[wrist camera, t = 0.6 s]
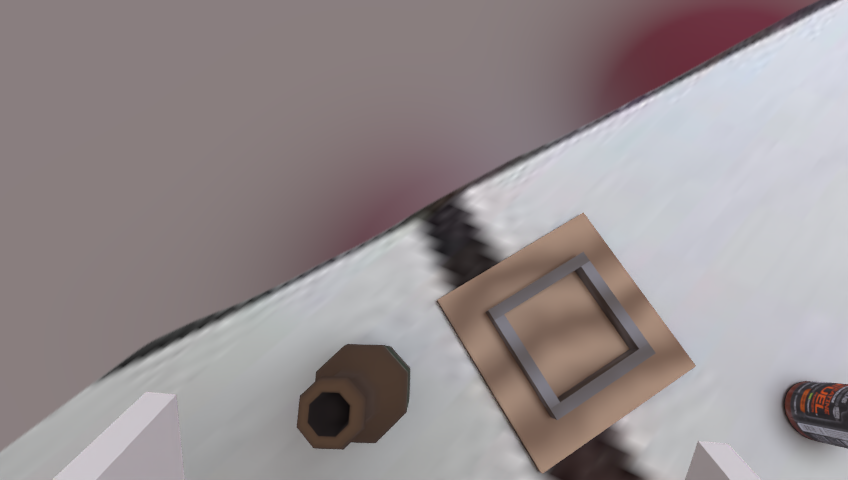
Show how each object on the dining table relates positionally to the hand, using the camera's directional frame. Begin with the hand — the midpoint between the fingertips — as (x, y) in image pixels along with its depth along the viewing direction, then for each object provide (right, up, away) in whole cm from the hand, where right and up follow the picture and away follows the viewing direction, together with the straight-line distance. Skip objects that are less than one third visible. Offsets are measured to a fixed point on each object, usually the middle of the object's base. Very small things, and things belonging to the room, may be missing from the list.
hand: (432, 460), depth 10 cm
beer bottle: (-5, -10, +33) cm, 35 cm away
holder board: (+15, -5, +35) cm, 38 cm away
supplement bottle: (+41, -13, +33) cm, 54 cm away
